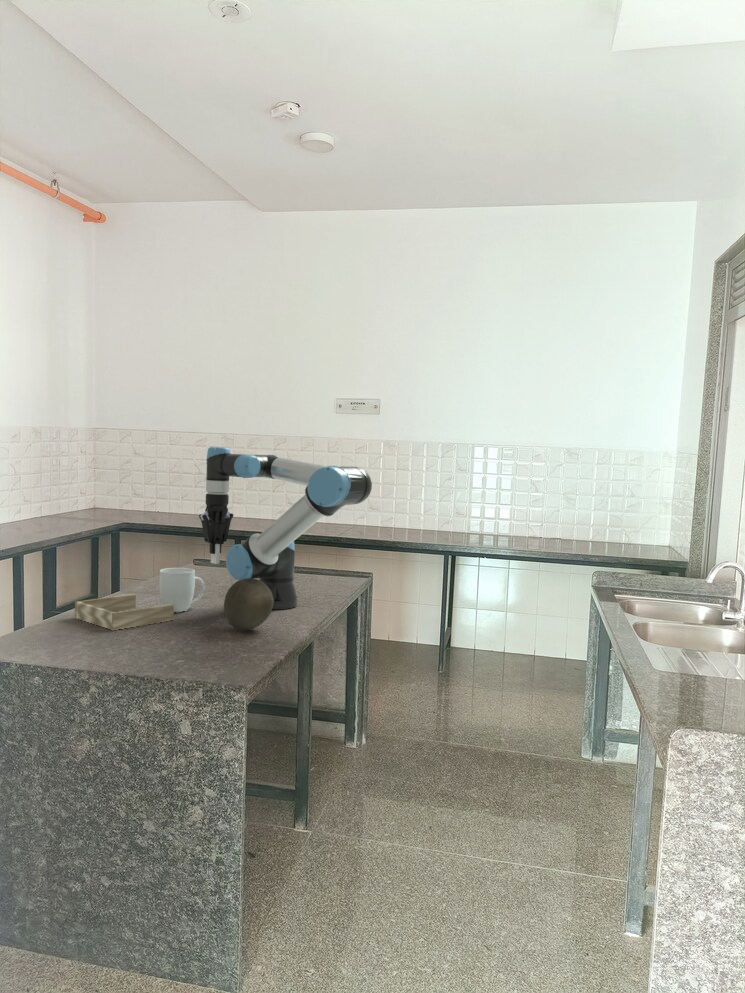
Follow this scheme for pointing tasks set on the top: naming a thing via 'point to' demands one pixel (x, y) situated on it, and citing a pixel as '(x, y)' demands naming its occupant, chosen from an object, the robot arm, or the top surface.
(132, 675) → the top surface
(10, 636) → the top surface
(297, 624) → the top surface
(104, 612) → the corral
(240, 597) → the cantaloupe
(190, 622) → the top surface
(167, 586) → the mug
